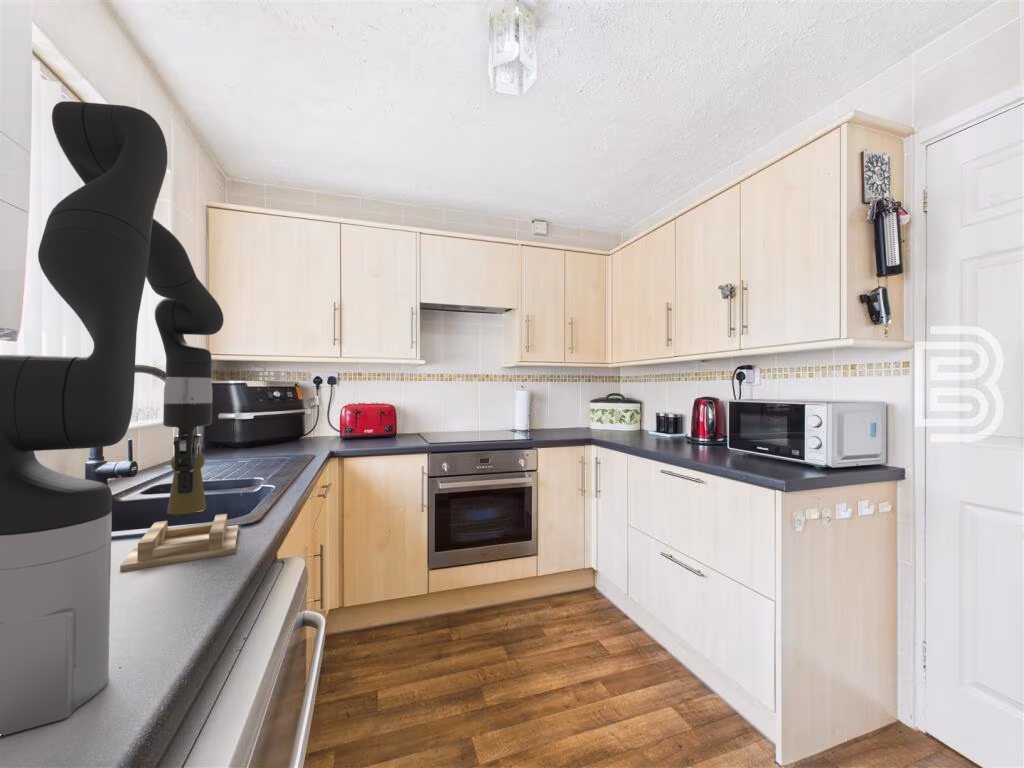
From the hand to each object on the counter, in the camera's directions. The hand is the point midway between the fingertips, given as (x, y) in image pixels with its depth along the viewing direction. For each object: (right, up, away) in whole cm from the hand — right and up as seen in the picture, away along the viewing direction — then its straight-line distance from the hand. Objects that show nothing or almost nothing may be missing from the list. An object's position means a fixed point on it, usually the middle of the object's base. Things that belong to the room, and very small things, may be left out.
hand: (187, 489), depth 83 cm
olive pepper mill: (0, -4, 0) cm, 4 cm away
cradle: (0, -11, 0) cm, 11 cm away
